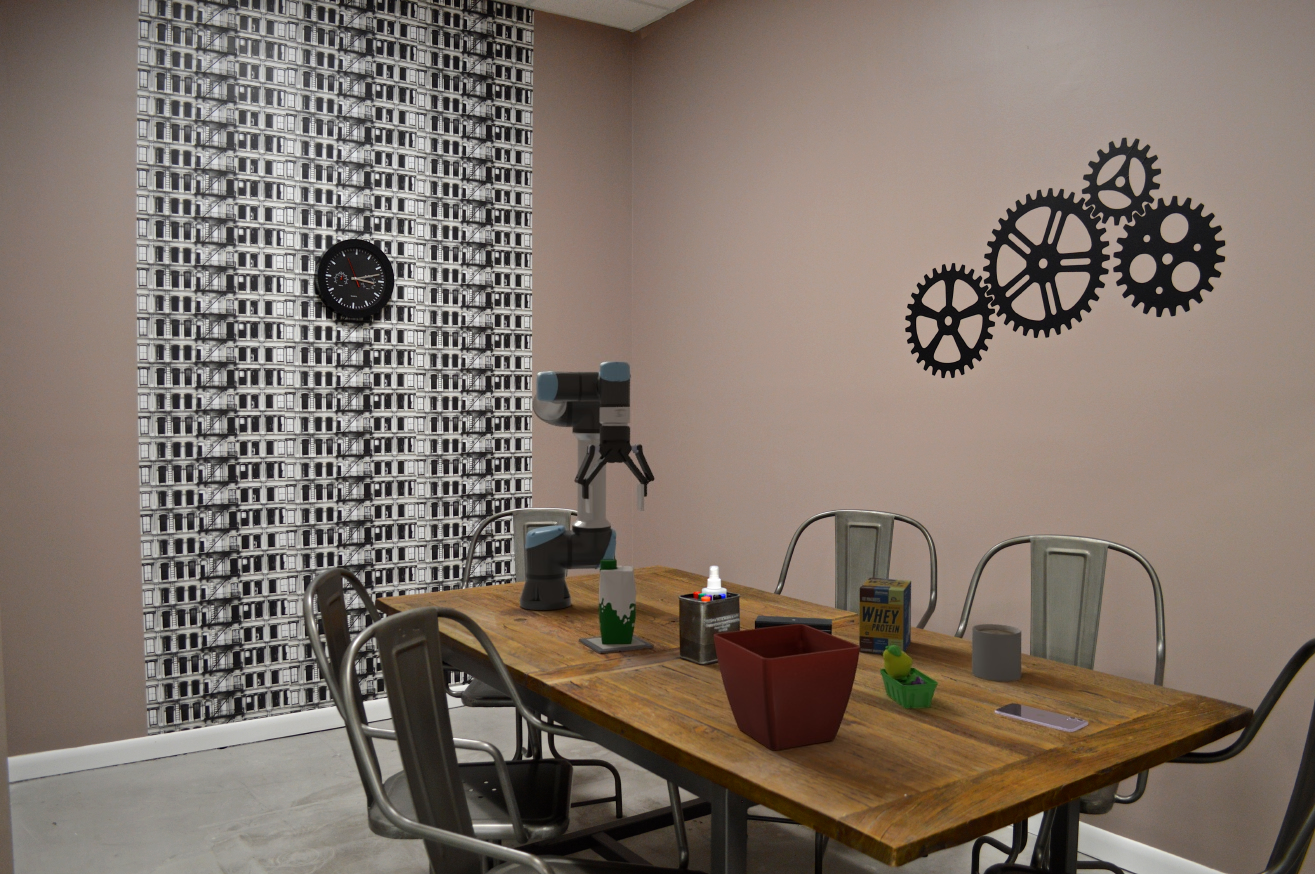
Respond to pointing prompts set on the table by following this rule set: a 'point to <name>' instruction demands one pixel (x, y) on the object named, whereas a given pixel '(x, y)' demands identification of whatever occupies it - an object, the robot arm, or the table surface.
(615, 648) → the mat
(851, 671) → the plant pot
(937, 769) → the table surface
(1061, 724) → the mobile phone
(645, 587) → the table surface
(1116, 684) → the table surface
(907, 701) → the fruit basket
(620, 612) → the soya milk
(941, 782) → the table surface
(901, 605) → the protein box
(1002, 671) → the coffee mug
